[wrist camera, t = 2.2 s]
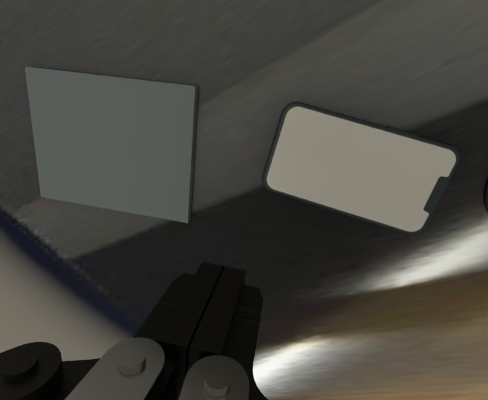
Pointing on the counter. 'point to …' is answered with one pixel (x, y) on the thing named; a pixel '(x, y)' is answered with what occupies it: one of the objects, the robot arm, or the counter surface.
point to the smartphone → (359, 168)
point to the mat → (114, 141)
